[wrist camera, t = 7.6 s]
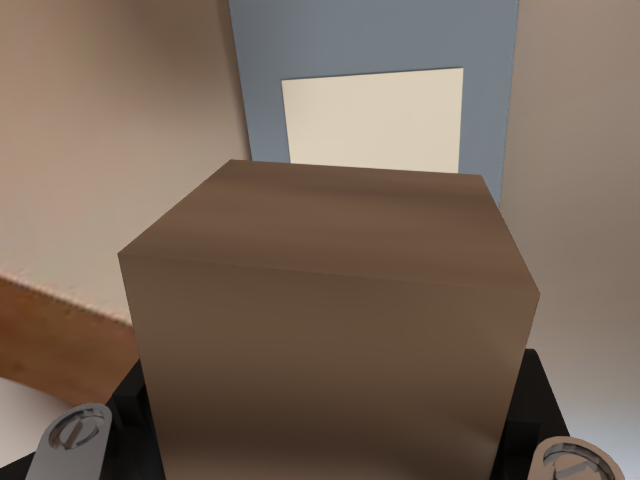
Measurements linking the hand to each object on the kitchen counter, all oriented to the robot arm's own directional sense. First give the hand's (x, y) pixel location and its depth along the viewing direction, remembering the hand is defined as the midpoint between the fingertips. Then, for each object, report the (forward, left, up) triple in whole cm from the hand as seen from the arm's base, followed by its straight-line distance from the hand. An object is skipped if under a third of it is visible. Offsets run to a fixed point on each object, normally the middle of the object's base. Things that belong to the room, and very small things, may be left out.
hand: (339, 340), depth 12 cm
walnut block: (0, 0, -1) cm, 1 cm away
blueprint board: (0, 0, -13) cm, 13 cm away
